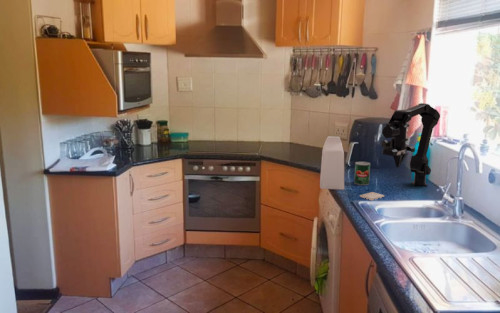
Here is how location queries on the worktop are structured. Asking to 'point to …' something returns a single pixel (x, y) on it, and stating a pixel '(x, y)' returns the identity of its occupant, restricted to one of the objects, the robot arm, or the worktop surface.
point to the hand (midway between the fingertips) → (397, 167)
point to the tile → (371, 196)
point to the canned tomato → (362, 173)
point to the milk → (332, 164)
